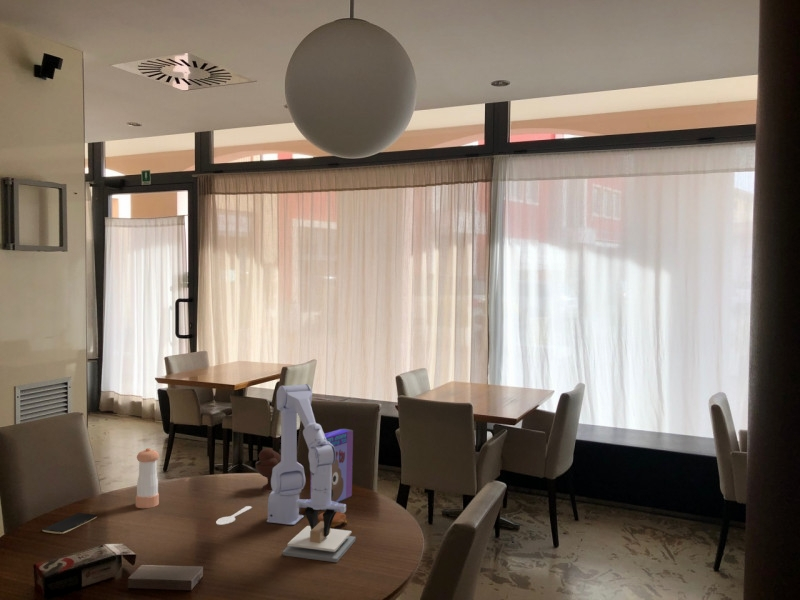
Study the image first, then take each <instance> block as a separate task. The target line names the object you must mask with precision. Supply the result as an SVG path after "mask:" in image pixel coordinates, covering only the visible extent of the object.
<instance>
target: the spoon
mask: <svg viewBox="0 0 800 600" xmlns="http://www.w3.org/2000/svg"><path fill="white" fill-rule="evenodd" d="M251 509H253V506H251V505H247V506H244V507H243V508H241V509H240V510H238V511H237V512H235V513H234V514H232V515H229V516H223V517H220V518H218V519H217V520H216V521H215V524H216V525H218V526H225V525H228V524H231V523H233V522H235V521H236V519H237V518H236V517H237V516H239V515H241V514H242V513H245V512H246V511H249V510H251Z"/></svg>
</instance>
